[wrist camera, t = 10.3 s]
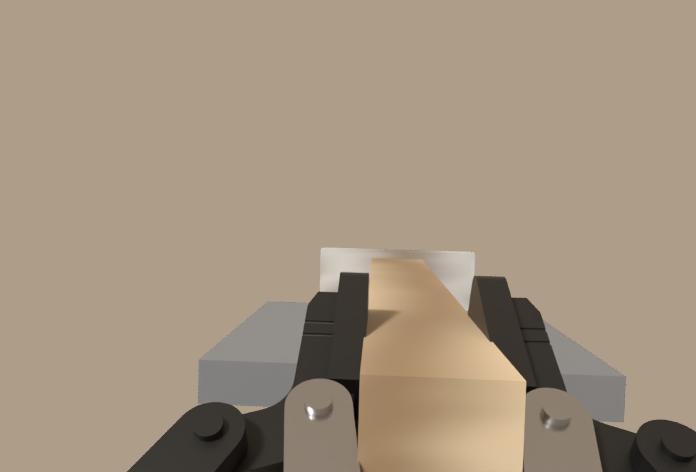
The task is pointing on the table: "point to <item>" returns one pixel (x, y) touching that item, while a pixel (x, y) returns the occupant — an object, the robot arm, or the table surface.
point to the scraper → (429, 368)
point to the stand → (283, 350)
